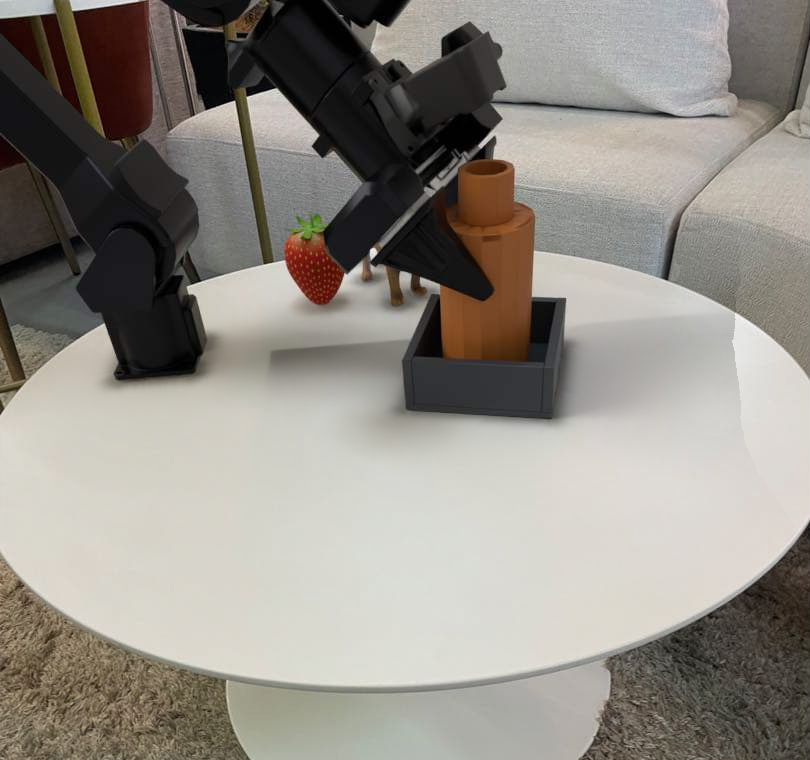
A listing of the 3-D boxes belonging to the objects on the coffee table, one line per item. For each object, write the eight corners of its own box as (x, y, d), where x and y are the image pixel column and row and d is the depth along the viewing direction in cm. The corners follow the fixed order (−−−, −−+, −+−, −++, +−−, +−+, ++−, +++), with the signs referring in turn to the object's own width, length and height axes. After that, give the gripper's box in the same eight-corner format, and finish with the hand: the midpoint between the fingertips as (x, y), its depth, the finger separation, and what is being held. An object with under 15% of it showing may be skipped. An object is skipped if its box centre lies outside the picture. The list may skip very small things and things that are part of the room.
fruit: (284, 313, 71) (267, 221, 66) (307, 287, 75) (293, 199, 69) (340, 318, 70) (327, 225, 64) (361, 291, 73) (351, 201, 68)
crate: (405, 410, 58) (401, 360, 55) (433, 339, 66) (431, 293, 63) (551, 419, 56) (554, 368, 53) (563, 345, 63) (566, 297, 61)
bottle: (446, 384, 57) (439, 188, 48) (439, 341, 62) (432, 156, 53) (534, 377, 57) (544, 180, 48) (521, 335, 62) (528, 148, 53)
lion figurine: (465, 303, 70) (463, 197, 64) (414, 322, 68) (407, 214, 62) (376, 253, 79) (367, 156, 73) (329, 268, 77) (316, 170, 71)
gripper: (348, 13, 39) (557, 257, 43) (473, -45, 52) (626, 148, 56) (241, 172, 47) (426, 366, 51) (373, 88, 60) (513, 250, 63)
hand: (504, 275), depth 55 cm, fingers closed on bottle, 6 cm apart
